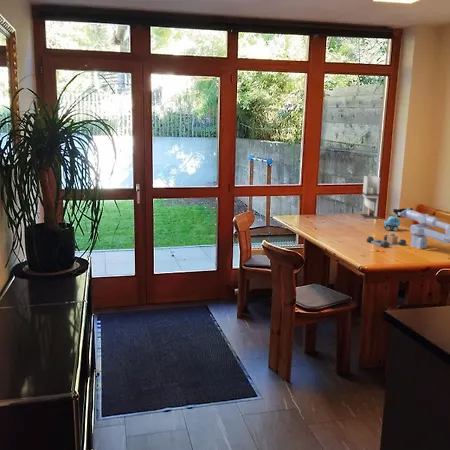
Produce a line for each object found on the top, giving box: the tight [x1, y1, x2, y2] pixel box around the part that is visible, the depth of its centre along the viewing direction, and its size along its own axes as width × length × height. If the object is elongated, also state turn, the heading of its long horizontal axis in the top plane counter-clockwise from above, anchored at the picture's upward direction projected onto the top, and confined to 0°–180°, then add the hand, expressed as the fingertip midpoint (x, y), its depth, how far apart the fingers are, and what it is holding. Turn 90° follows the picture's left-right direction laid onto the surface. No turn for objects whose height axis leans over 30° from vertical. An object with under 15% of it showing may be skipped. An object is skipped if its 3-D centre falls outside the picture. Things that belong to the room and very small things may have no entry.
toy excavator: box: [383, 207, 407, 232], centre depth 368 cm, size 9×17×17 cm, turn 78°
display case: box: [360, 175, 381, 220], centre depth 413 cm, size 11×11×35 cm
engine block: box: [386, 232, 399, 244], centre depth 326 cm, size 5×4×6 cm
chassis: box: [366, 234, 407, 249], centre depth 324 cm, size 16×20×5 cm
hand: (397, 210), depth 331 cm, fingers open, 7 cm apart
